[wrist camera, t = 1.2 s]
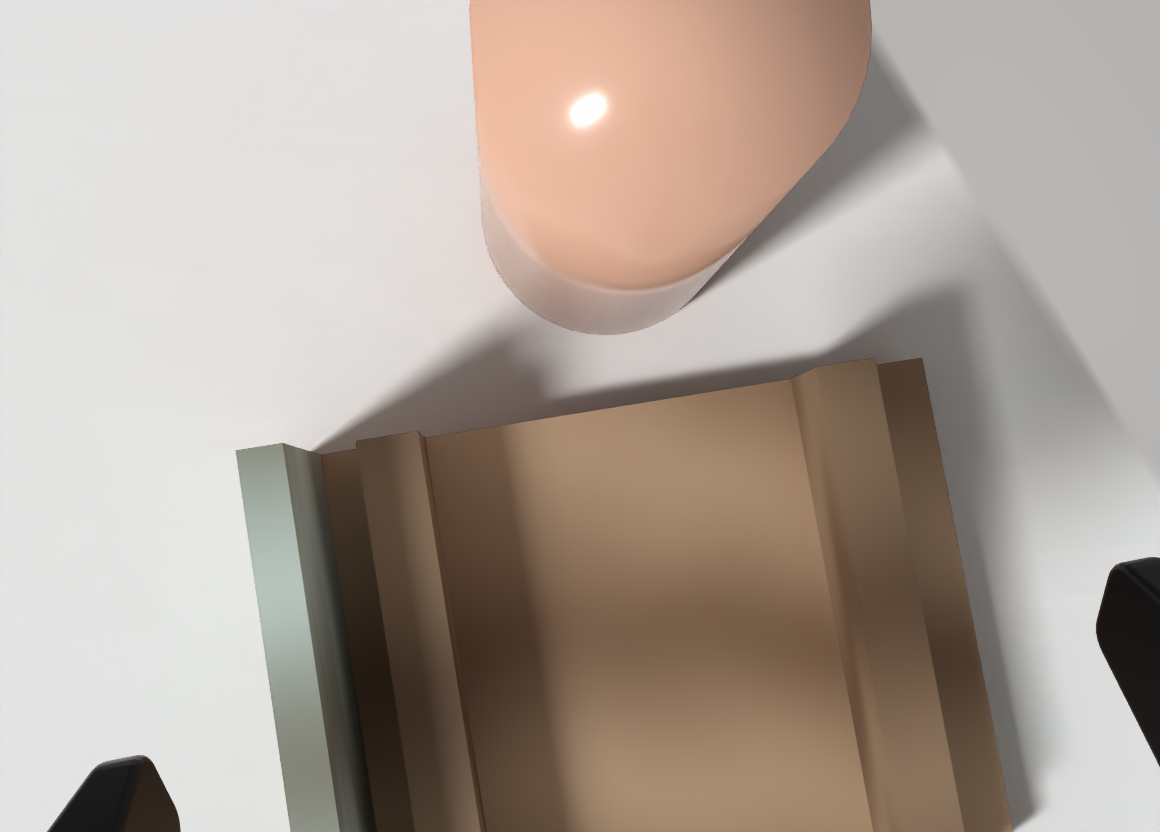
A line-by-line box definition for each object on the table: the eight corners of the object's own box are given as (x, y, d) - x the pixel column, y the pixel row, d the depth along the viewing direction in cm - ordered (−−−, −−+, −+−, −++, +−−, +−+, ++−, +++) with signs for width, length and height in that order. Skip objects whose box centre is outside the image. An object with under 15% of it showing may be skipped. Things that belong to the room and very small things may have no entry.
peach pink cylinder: (725, 337, 25) (875, 221, 15) (479, 332, 24) (465, 210, 14) (723, 100, 25) (868, -165, 15) (483, 91, 25) (473, -186, 15)
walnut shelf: (993, 845, 24) (1127, 937, 19) (368, 973, 23) (330, 1107, 18) (901, 365, 25) (1006, 327, 20) (292, 463, 24) (235, 450, 19)
